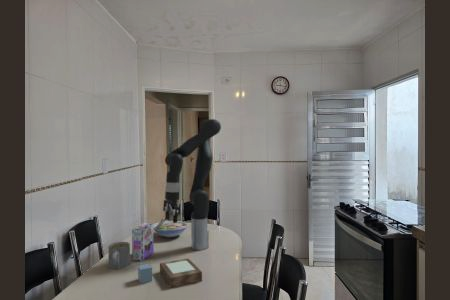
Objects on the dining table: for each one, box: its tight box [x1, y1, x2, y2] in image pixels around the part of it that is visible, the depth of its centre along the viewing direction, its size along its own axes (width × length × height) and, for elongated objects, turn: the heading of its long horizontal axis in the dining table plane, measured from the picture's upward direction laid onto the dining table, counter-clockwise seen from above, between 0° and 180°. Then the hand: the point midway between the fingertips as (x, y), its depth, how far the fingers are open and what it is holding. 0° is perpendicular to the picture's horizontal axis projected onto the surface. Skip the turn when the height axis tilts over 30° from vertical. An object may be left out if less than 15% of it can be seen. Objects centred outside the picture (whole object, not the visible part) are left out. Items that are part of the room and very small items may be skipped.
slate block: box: [137, 263, 153, 284], centre depth 134 cm, size 5×5×6 cm
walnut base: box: [159, 258, 203, 288], centre depth 138 cm, size 14×18×4 cm
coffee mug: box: [108, 241, 131, 270], centre depth 150 cm, size 13×10×10 cm
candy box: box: [131, 222, 155, 262], centre depth 164 cm, size 14×6×16 cm, turn 168°
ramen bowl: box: [153, 218, 188, 239], centre depth 201 cm, size 25×23×8 cm
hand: (171, 221), depth 164 cm, fingers open, 8 cm apart
